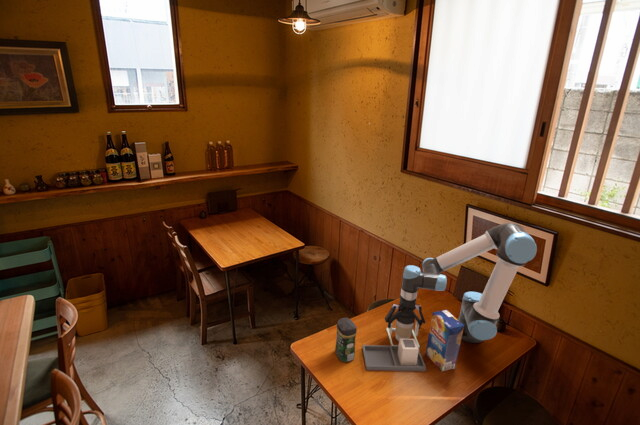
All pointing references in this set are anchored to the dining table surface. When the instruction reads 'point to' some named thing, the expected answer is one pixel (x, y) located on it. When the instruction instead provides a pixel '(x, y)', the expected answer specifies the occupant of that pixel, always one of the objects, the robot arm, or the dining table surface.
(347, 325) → the coffee jar
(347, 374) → the dining table surface
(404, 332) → the coffee cup
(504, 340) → the dining table surface
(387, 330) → the square frame
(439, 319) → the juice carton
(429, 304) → the dining table surface
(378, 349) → the divided tray
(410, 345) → the white box
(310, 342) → the dining table surface
